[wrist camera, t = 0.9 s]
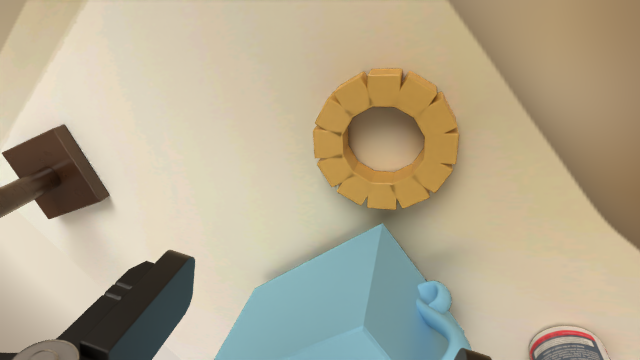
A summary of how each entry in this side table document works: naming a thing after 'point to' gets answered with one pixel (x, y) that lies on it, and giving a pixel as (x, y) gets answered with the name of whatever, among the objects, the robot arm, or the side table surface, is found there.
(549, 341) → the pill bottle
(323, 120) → the ring
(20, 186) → the post
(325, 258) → the teapot
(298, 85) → the side table surface
